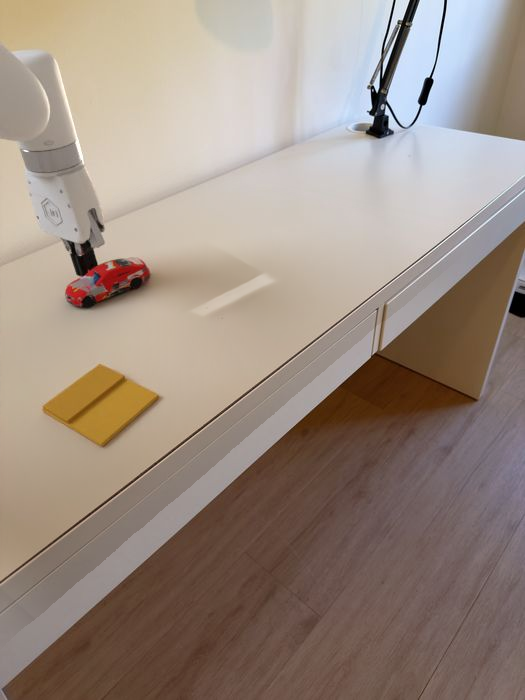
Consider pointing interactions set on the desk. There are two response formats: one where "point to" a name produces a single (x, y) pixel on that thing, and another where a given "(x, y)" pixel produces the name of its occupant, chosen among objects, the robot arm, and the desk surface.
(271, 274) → the desk surface
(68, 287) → the race car
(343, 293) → the desk surface
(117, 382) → the rag
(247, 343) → the desk surface
